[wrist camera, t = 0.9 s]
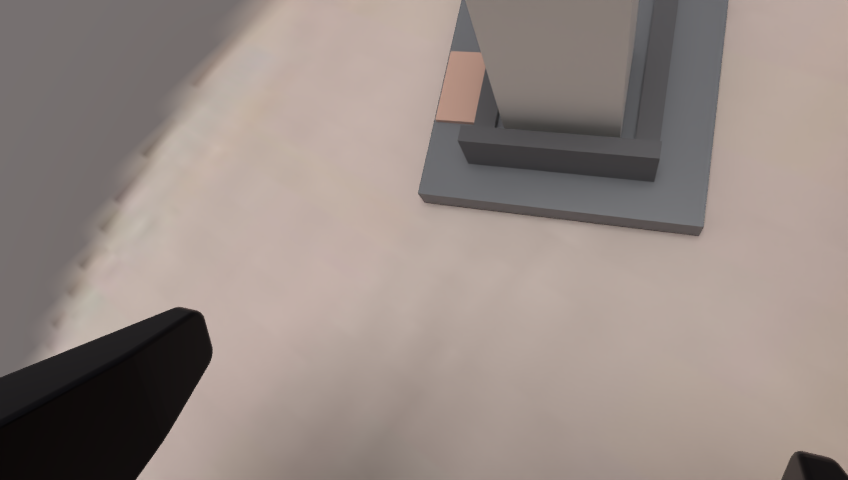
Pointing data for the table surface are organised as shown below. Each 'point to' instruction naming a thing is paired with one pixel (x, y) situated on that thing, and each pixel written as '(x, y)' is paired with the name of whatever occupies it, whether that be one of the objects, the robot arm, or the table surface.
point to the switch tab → (558, 62)
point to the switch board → (585, 154)
